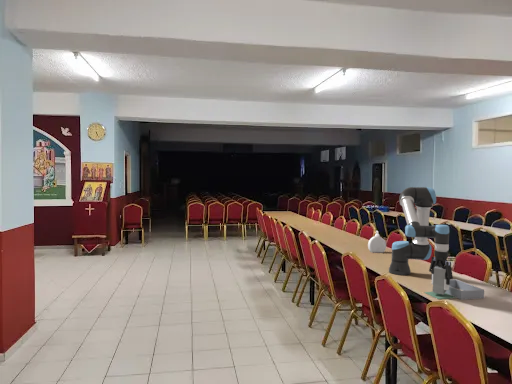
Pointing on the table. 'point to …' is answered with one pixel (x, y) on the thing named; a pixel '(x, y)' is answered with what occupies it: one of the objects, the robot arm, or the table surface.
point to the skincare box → (439, 280)
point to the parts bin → (468, 292)
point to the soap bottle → (377, 244)
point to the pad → (440, 295)
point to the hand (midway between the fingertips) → (440, 286)
